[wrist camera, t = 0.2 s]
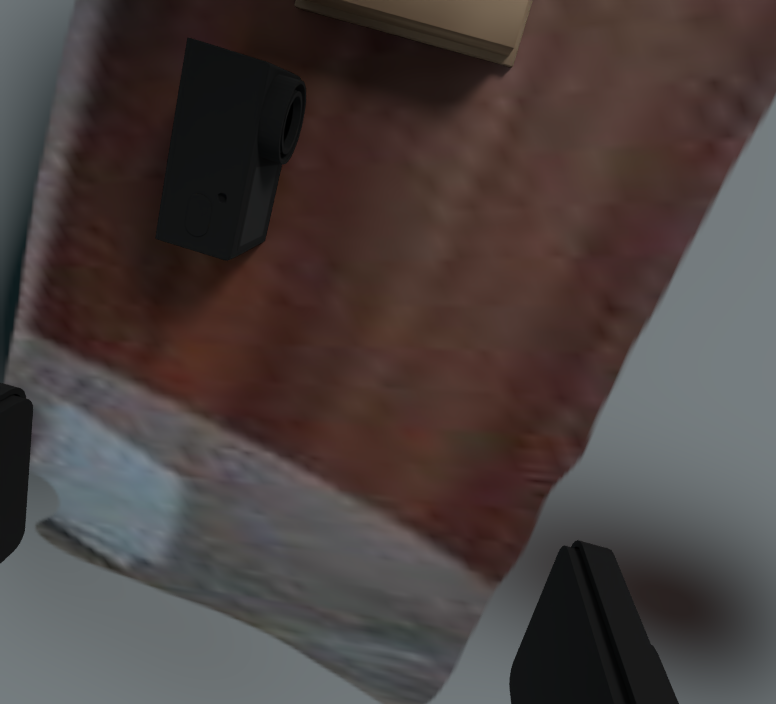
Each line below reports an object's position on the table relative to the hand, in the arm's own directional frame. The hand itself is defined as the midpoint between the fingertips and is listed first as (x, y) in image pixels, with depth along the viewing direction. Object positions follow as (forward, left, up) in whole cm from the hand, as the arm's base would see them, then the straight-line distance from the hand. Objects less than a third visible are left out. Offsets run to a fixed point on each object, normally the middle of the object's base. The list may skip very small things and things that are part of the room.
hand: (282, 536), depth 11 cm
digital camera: (-3, -10, -31) cm, 33 cm away
